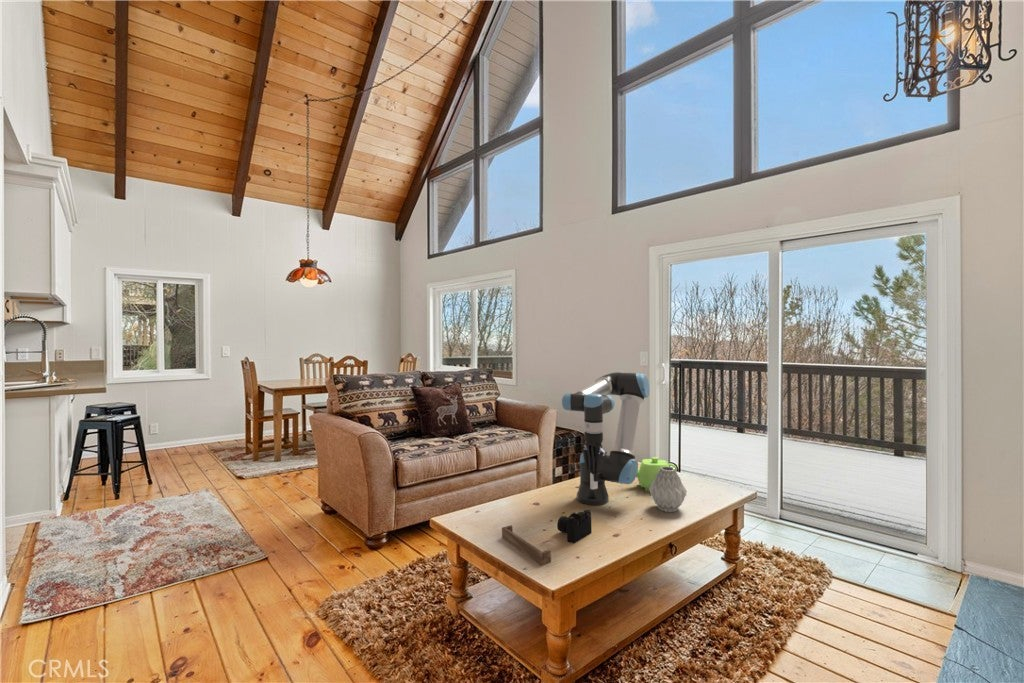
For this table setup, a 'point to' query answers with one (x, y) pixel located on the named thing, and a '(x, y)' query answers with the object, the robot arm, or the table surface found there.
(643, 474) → the teapot
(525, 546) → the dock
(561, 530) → the camera
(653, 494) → the vase
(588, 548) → the table surface
